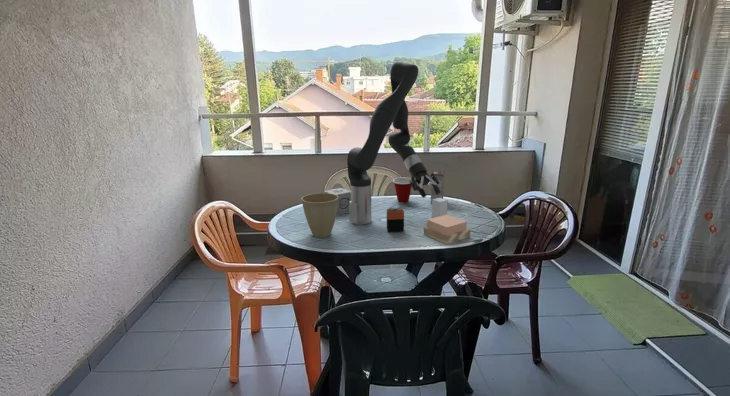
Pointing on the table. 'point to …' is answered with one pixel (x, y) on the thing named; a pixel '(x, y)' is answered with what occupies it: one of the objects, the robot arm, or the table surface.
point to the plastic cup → (402, 189)
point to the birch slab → (448, 238)
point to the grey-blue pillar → (439, 207)
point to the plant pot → (320, 212)
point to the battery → (395, 219)
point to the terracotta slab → (446, 224)
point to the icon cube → (341, 199)
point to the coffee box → (440, 178)
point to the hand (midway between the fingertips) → (432, 195)
